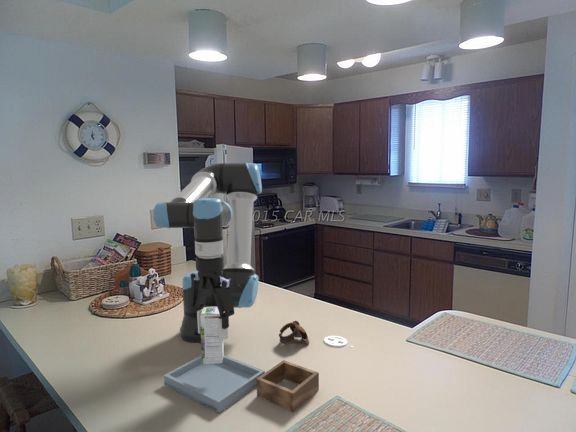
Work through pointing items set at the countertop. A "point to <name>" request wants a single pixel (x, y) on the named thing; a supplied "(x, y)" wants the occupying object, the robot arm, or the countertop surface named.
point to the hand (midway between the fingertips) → (212, 335)
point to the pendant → (336, 341)
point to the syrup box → (211, 337)
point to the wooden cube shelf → (282, 395)
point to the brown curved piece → (293, 333)
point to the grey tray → (214, 381)
